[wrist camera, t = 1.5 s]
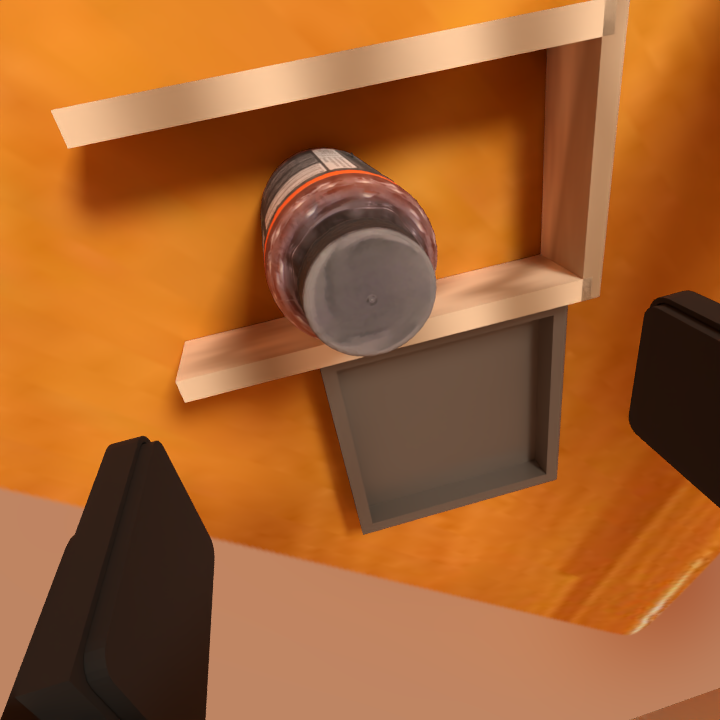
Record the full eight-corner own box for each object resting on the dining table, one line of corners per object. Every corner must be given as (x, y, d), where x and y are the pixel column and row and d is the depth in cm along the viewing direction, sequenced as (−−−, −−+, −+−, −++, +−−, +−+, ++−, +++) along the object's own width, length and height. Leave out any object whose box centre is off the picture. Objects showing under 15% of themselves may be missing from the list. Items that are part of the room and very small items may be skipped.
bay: (568, 6, 21) (630, -7, 18) (556, 269, 28) (599, 296, 24) (85, 104, 19) (50, 110, 16) (193, 360, 26) (184, 402, 23)
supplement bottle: (400, 232, 25) (497, 329, 15) (301, 290, 25) (333, 419, 16) (346, 117, 22) (425, 148, 12) (233, 186, 22) (222, 268, 12)
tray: (547, 284, 28) (568, 298, 26) (541, 459, 35) (556, 479, 34) (313, 343, 27) (318, 362, 25) (357, 511, 34) (363, 534, 32)
